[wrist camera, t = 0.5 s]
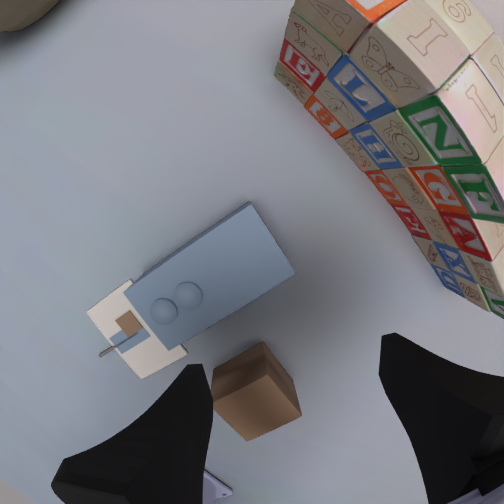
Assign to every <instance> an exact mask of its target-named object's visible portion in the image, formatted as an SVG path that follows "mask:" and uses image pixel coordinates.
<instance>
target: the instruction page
mask: <svg viewBox="0 0 504 504" xmlns="http://www.w3.org/2000/svg"><path fill="white" fill-rule="evenodd" d="M132 284H133V281H132V280H131V279H129V280H128V281H127V282H125V283H124V284H123V285H121V286H120V287H119V288H117V289H116V290H115V291H113V292H112V293H111V294H109V295H108V296H107V297H105V298H104V299H103V300H101V301H100V302H99V303H97V304H96V305H95V306H93V307H92V308H91V309H90V310H88V311H87V314H88V315H89V317H90V318H91V319H92V321H93V322H94V323H95V325H96V326H97V327H98V328H99V330H100V331H101V332H102V334H103V335H104V336H105V337H106V339H107V340H108V341H109V342H110V344H111V345H112V347H110V348H109V349H107V350H106V351H104V352H103V353H101V354H99V355H98V356H99V357H100V358H101V357H102V356H104V355H105V354H107V353H109V352H110V351H112V350H113V349H115V350H116V351H117V352H118V353H119V355H120V356H121V357H122V358H123V359H124V360H125V362H126V363H127V364H128V365H129V366H130V367H131V369H132V370H133V371H134V372H135V373H136V374H137V375H138V376H139V377H140V379H143V378H145V377H147V376H149V375H151V374H153V373H154V372H156V371H158V370H160V369H162V368H164V367H165V366H167V365H169V364H171V363H173V362H175V361H176V360H178V359H180V358H182V357H184V356H185V355H187V354H188V352H187V351H186V350H185V348H184V347H183V346H182V345H181V344H180V345H178V346H177V347H175V348H173V349H171V350H170V351H168V350H167V348H166V347H165V346H164V345H163V344H162V342H161V341H160V340H159V339H158V338H157V336H156V335H155V334H154V333H153V331H152V330H151V329H150V328H149V326H148V325H147V324H146V323H145V321H144V320H143V319H142V317H141V316H140V315H139V313H138V312H137V311H136V310H135V308H134V307H133V306H132V304H131V303H130V302H129V300H128V299H127V298H126V296H125V295H124V293H123V292H124V291H125V290H126V289H127V288H128V287H130V286H131V285H132Z"/></svg>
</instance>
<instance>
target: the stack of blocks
mask: <svg viewBox="0 0 504 504" xmlns="http://www.w3.org/2000/svg"><path fill="white" fill-rule="evenodd" d="M289 17H290V18H289V19H288V24H287V27H286V31H285V36H284V37H285V38H284V42H283V45H282V49H281V53H280V59H279V60H278V63H277V66H276V70H275V75H274V76H275V77H276V78H277V79H278V80H279V81H280V82H281V83H282V84H283V85H284V86H285V87H286V88H287V89H288V90H289V91H290V92H291V93H292V94H293V95H294V96H295V97H296V98H297V99H298V100H299V101H300V102H301V103H302V104H303V105H304V106H305V108H306V109H307V110H308V111H309V112H310V113H311V115H312V116H313V117H314V118H315V119H316V120H317V121H318V122H319V123H320V124H321V125H322V126H323V127H324V128H325V129H326V131H327V132H328V133H329V134H330V135H331V136H332V137H333V138H334V139H335V140H336V142H337V143H338V144H339V145H340V146H341V148H342V149H343V150H344V151H345V152H346V153H347V155H348V156H349V157H350V158H351V159H352V160H353V162H354V163H355V164H356V165H357V166H358V168H359V169H360V170H361V171H362V172H365V173H366V174H367V176H368V178H369V179H370V180H371V181H372V182H373V183H374V184H375V186H376V187H377V189H378V190H379V191H380V192H381V194H382V195H383V196H384V198H385V199H386V200H387V202H388V203H390V204H391V206H392V207H393V208H394V210H395V211H396V212H397V214H398V215H399V217H400V218H401V219H402V221H403V222H404V223H405V225H406V226H407V228H408V229H409V231H410V232H411V233H412V237H413V239H414V240H415V242H416V243H417V244H418V246H419V247H420V249H421V250H422V252H423V254H424V255H425V257H426V258H427V260H428V261H429V262H430V263H431V265H432V267H433V269H434V270H435V272H436V273H437V275H438V276H439V278H440V280H441V281H442V283H443V285H444V286H445V287H446V288H447V289H449V290H451V291H453V292H455V293H456V294H458V295H460V296H462V297H464V298H466V299H467V300H468V301H470V302H472V303H474V304H475V305H477V306H479V307H481V308H482V309H484V310H486V311H488V312H491V311H492V312H493V313H494V314H496V315H498V316H499V317H501V318H503V319H504V43H503V42H502V41H501V39H500V38H499V37H498V36H497V35H496V34H495V33H494V31H493V29H492V28H491V26H490V25H489V24H488V22H487V21H486V20H485V19H484V17H483V16H482V15H481V14H480V13H479V12H478V10H477V9H476V8H475V7H474V6H473V5H472V3H471V2H470V1H469V0H295V3H294V6H293V7H292V9H291V12H290V15H289Z"/></svg>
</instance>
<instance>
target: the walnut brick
mask: <svg viewBox="0 0 504 504" xmlns="http://www.w3.org/2000/svg"><path fill="white" fill-rule="evenodd" d="M211 394H212V398H213V409H214V410H215V411H216V412H217V413H218V414H219V415H220V416H221V417H222V418H223V419H224V420H225V421H226V422H227V423H228V424H229V425H230V426H231V427H232V428H233V429H234V430H235V431H236V432H238V433H239V434H240V435H241V436H242V437H243V438H244V439H245V440H246V441H249V440H252V439H254V438H256V437H259V436H261V435H263V434H265V433H268V432H270V431H272V430H274V429H276V428H278V427H280V426H282V425H285V424H287V423H289V422H291V421H293V420H295V419H297V418H299V417H301V416H302V413H301V409H300V406H299V402H298V398H297V394H296V390H295V386H294V382H293V380H292V379H291V377H290V376H289V375H288V373H287V372H286V371H285V370H284V368H283V367H282V366H281V364H280V363H279V362H278V361H277V359H276V358H275V357H274V355H273V354H272V353H271V351H270V350H269V349H268V347H267V346H266V345H265V343H264V342H261V343H259V344H258V345H256V346H254V347H252V348H251V349H249V350H247V351H245V352H244V353H242V354H240V355H238V356H236V357H235V358H233V359H231V360H229V361H227V362H226V363H224V364H222V365H220V366H218V367H216V368H214V370H213V377H212V384H211Z"/></svg>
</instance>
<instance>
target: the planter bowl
mask: <svg viewBox="0 0 504 504" xmlns="http://www.w3.org/2000/svg"><path fill="white" fill-rule="evenodd" d="M58 1H59V0H0V32H3V31H17V30H21V29H23V28H25V27H27V26H29V25H31V24H32V23H34V22H36V21H37V20H38V19H40V18H41V17H42V16H44V15H45V14H46V13H47V12H48V11H49V10H51V9H52V8H53V7H54V6H55V5H56V4H57V2H58Z"/></svg>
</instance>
